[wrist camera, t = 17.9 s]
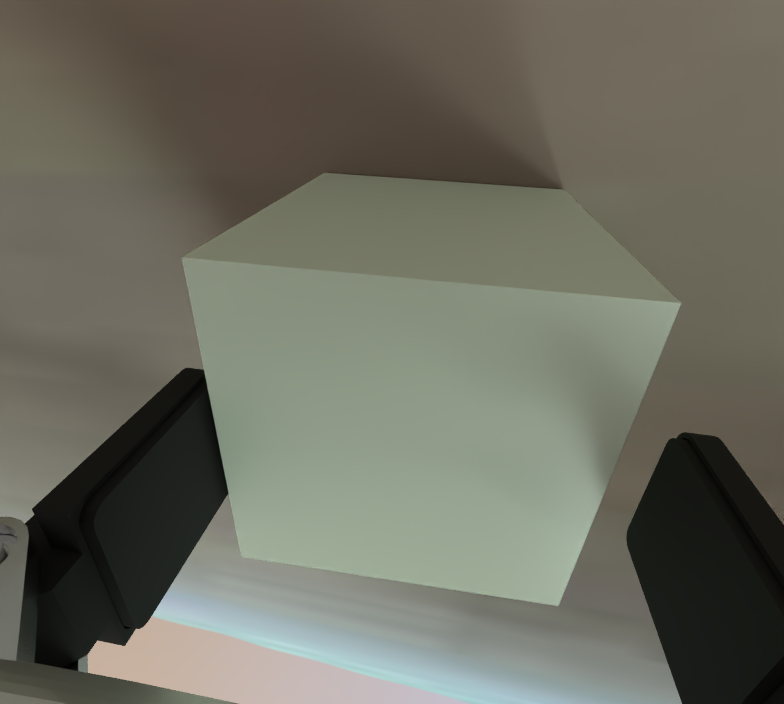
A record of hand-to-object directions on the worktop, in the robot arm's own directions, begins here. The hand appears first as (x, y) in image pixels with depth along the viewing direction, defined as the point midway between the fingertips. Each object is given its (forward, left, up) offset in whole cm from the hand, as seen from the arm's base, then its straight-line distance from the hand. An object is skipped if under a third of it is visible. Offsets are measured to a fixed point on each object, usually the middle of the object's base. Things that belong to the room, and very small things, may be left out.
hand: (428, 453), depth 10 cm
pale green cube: (0, 0, -8) cm, 8 cm away
